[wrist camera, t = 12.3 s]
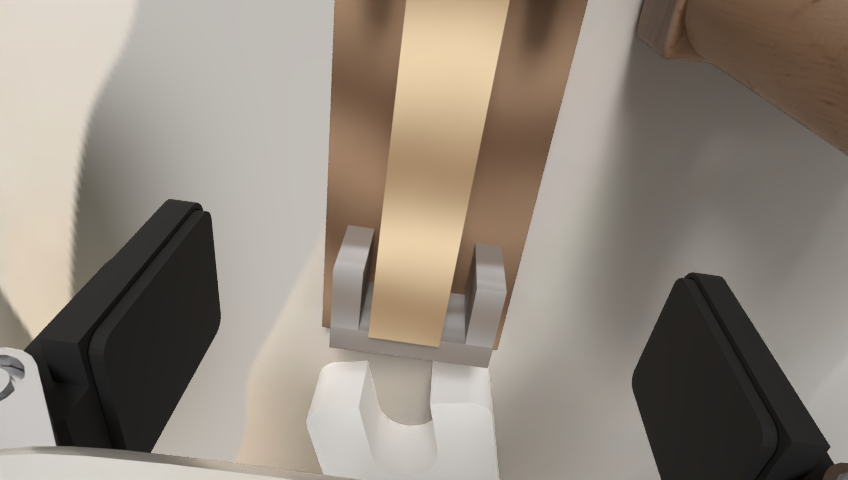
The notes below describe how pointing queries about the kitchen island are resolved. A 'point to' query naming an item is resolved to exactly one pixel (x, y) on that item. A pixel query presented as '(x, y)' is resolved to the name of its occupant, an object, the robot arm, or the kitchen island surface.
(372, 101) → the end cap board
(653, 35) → the wooden block
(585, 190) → the kitchen island surface
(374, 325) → the oak slat
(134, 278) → the robot arm
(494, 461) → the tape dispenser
